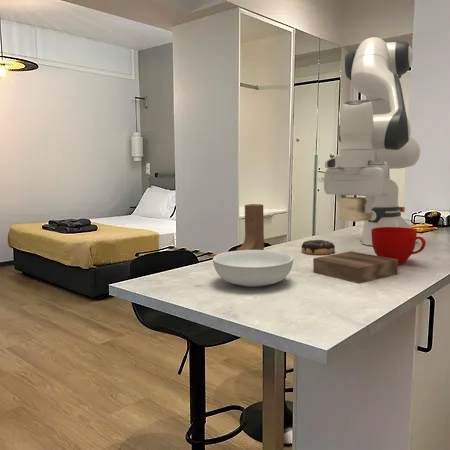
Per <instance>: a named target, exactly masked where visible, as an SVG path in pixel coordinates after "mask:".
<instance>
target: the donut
mask: <svg viewBox="0 0 450 450" xmlns="http://www.w3.org/2000/svg"><path fill="white" fill-rule="evenodd" d="M301 251H302V253H304V254H306V255H313V256H328V255H332V254H333V253H334V252H335V251H336V249H335V244H334V243H333V242H331V241H329V240H324V239H311V240H305V241H303V243H302V244H301Z"/></svg>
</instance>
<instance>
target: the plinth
mask: <svg viewBox="0 0 450 450" xmlns="http://www.w3.org/2000/svg"><path fill="white" fill-rule="evenodd" d="M312 259H313V260H312V261H313V262H312V263H313V264H312V266H313V272H312V273H314V274H319V275H324V276H328V277H331V278H335V279H339V280H344V281H347V282H352V283H355V284H362V283H367V282H370V281H375V280H379V279H383V278H387V277H390V276H393V275H398V271H399V267H398V266H399V264H398V259H392V258H387V257H381V256H377V255H376V254H375V255H374V254H368V253H365V252H364V253H363V252H357V251H347V252H341V253H340V252H339V253H335V254H328V255H322V256H319V257H313V258H312Z"/></svg>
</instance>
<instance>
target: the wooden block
mask: <svg viewBox="0 0 450 450" xmlns="http://www.w3.org/2000/svg"><path fill="white" fill-rule="evenodd" d="M264 218H265V217H264V204H260V203H257V204H256V203H251V204H245V205H244V232H245V234H244V241H243V243H242V244H241V246H239V247H237V248H236V251H239V250H265V238H264V237H265V234H264V233H265V232H264V230H265V229H264Z"/></svg>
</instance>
